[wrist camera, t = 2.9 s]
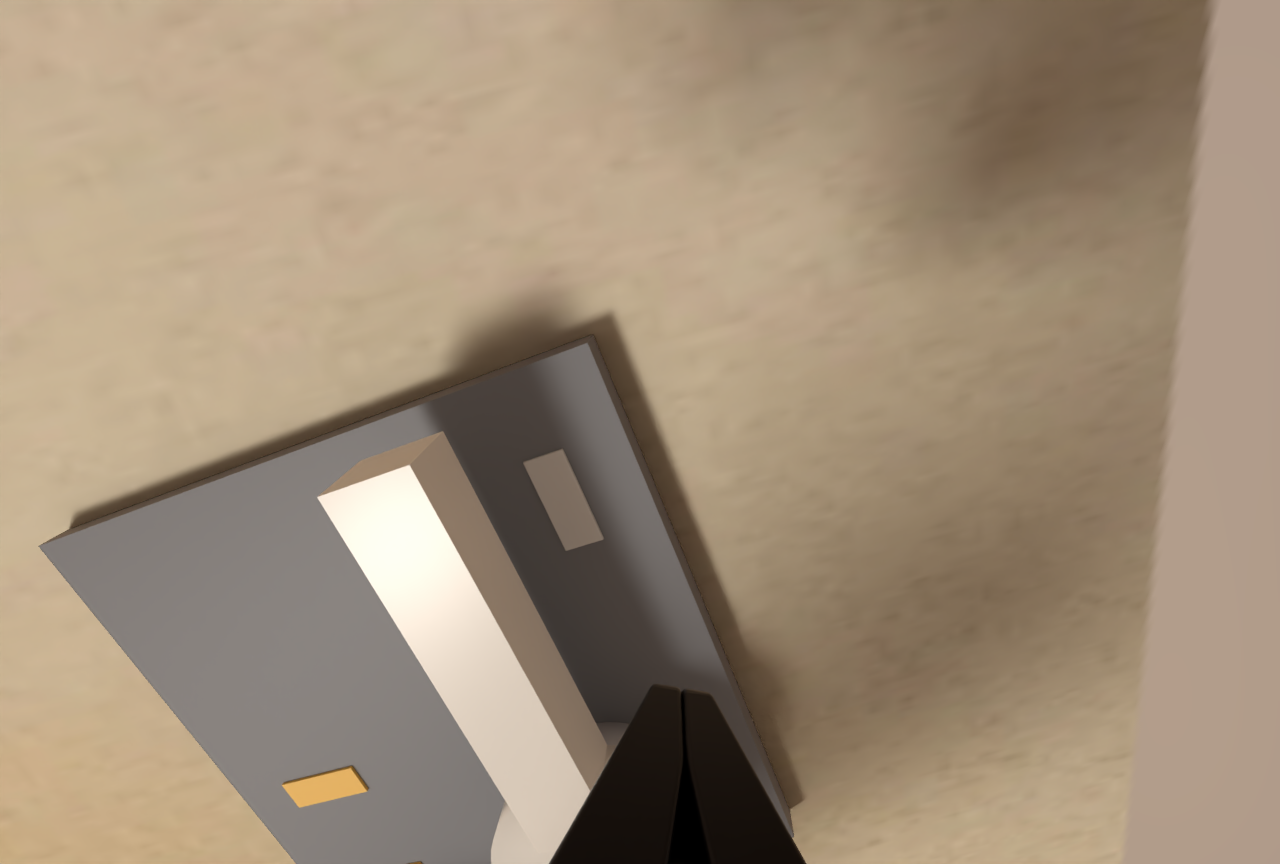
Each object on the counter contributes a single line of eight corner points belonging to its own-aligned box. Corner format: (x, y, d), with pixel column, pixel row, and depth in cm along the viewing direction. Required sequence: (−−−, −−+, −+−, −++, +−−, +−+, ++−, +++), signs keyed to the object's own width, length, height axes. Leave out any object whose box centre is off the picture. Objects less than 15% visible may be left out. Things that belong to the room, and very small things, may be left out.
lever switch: (749, 878, 20) (755, 947, 19) (556, 913, 22) (544, 980, 20) (527, 400, 15) (503, 431, 13) (285, 487, 16) (234, 526, 14)
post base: (789, 811, 23) (801, 880, 21) (356, 897, 27) (324, 964, 24) (593, 334, 17) (578, 357, 15) (67, 530, 21) (-11, 573, 18)
